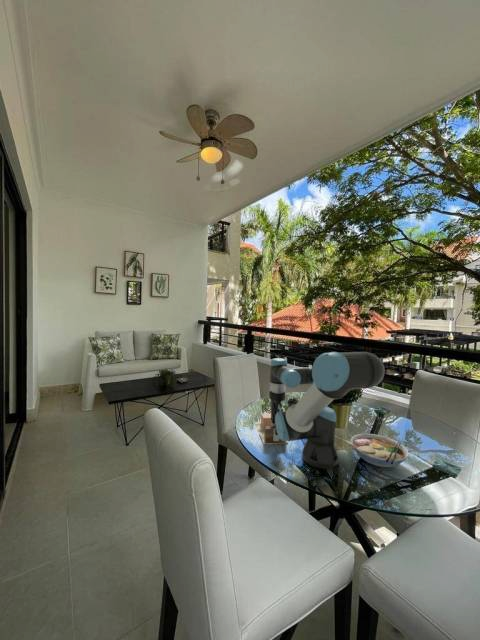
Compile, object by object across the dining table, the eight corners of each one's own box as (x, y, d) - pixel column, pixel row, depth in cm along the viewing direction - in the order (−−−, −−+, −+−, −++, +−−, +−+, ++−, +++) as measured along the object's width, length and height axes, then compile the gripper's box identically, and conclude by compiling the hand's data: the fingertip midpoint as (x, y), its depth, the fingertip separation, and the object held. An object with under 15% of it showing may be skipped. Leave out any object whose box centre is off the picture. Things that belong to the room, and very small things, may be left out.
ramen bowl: (359, 442, 144) (360, 426, 143) (412, 460, 129) (414, 442, 129) (340, 463, 124) (342, 445, 124) (400, 487, 110) (402, 466, 109)
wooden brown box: (287, 443, 140) (288, 428, 139) (263, 444, 138) (264, 429, 138) (275, 422, 164) (275, 409, 163) (254, 423, 162) (254, 409, 161)
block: (274, 428, 154) (274, 417, 154) (263, 429, 153) (263, 418, 153) (271, 423, 160) (271, 413, 160) (260, 424, 159) (261, 413, 159)
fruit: (311, 397, 181) (286, 395, 183) (312, 406, 174) (287, 403, 175) (309, 408, 184) (285, 406, 186) (311, 417, 177) (286, 415, 178)
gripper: (265, 385, 146) (264, 431, 148) (273, 396, 130) (271, 447, 132) (280, 385, 147) (278, 430, 149) (290, 396, 131) (287, 446, 133)
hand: (275, 438), depth 140 cm, fingers closed on wooden brown box, 3 cm apart
